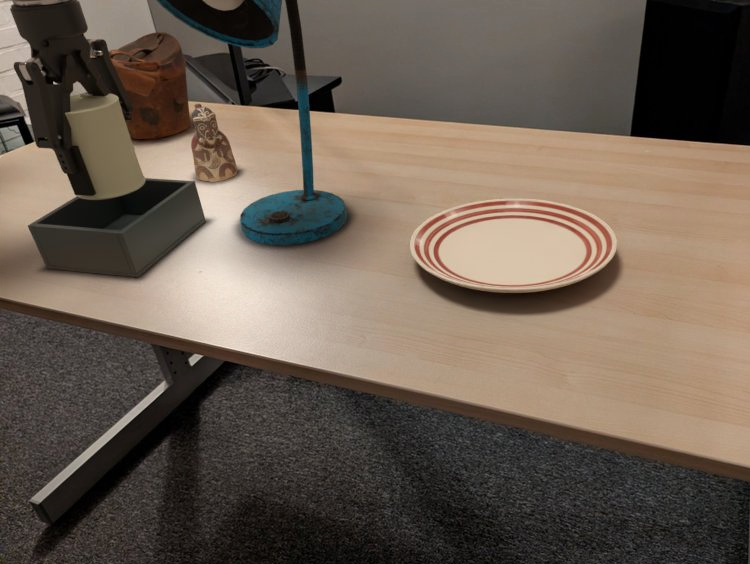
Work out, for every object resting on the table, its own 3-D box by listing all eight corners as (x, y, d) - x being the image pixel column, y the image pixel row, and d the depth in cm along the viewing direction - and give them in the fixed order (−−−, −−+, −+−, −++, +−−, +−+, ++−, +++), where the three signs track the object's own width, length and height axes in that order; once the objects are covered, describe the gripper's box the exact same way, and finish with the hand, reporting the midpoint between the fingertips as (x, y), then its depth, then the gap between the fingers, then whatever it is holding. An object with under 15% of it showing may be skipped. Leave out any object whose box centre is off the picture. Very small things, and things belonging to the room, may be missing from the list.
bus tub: (46, 268, 91) (27, 225, 87) (124, 214, 105) (110, 175, 101) (138, 277, 88) (122, 233, 84) (206, 221, 102) (194, 180, 98)
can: (151, 171, 95) (124, 86, 88) (138, 196, 88) (107, 105, 81) (85, 177, 94) (53, 92, 87) (66, 203, 87) (29, 112, 80)
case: (103, 150, 130) (70, 55, 120) (123, 120, 146) (95, 34, 136) (196, 141, 133) (171, 47, 122) (205, 113, 149) (184, 27, 138)
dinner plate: (385, 236, 95) (383, 215, 93) (550, 201, 103) (552, 181, 101) (456, 335, 74) (456, 310, 72) (657, 282, 82) (661, 259, 80)
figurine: (198, 184, 114) (179, 115, 107) (195, 171, 119) (177, 104, 112) (239, 177, 116) (223, 109, 109) (235, 164, 121) (219, 98, 114)
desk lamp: (196, 250, 94) (82, -136, 67) (285, 192, 110) (220, -138, 83) (290, 269, 88) (205, -143, 62) (368, 204, 104) (327, -144, 78)
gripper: (-1, 16, 68) (79, 215, 81) (126, -14, 85) (175, 154, 98) (-59, 16, 70) (28, 211, 83) (77, -14, 87) (132, 152, 100)
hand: (108, 180), depth 91 cm, fingers closed on can, 9 cm apart
